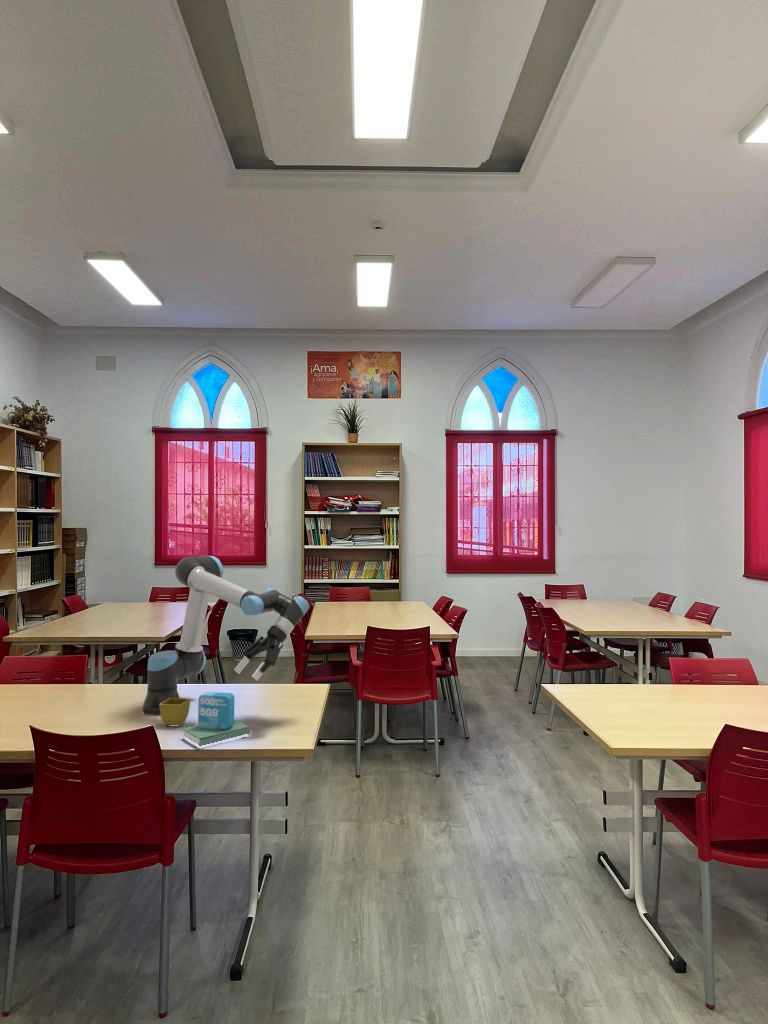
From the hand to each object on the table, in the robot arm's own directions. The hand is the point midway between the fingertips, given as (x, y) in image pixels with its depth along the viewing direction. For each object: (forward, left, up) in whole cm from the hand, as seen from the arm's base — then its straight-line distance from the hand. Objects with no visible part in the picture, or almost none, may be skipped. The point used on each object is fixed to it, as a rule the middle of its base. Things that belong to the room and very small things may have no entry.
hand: (245, 675), depth 227 cm
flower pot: (-24, -17, -21) cm, 36 cm away
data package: (0, -11, -17) cm, 21 cm away
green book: (0, -12, -21) cm, 24 cm away
